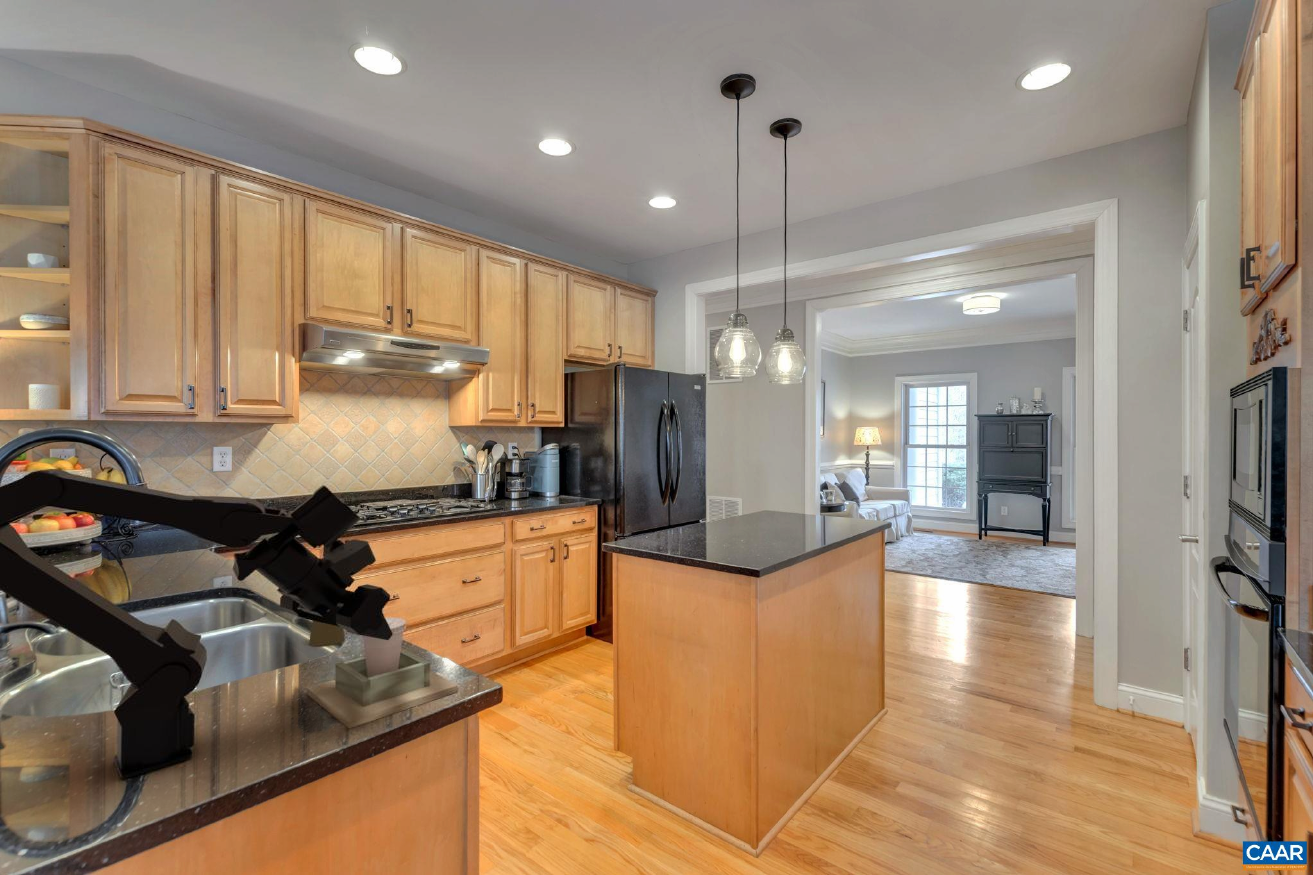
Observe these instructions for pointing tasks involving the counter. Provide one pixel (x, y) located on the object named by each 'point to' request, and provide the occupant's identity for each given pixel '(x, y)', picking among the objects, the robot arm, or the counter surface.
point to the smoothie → (384, 649)
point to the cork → (325, 634)
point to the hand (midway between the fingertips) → (371, 631)
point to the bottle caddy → (379, 689)
